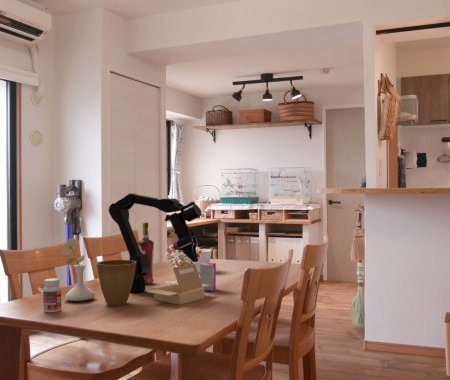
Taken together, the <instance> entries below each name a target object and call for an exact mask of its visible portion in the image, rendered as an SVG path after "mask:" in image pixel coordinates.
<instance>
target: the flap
mask: <svg viewBox="0 0 450 380" xmlns="http://www.w3.org/2000/svg"><path fill="white" fill-rule="evenodd" d="M172 270H173V273H174V275H175V276H174V277H175V279H176V281H177V285H179V288H180V291H181V292H182V291H186V290H190V289H194V288H198V287H202V283H201V280H200V273H198V271H197V269H196V266H195V264H191V263H189V264H186V265H181V266H177V267H173V268H172Z"/></svg>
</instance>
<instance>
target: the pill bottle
mask: <svg viewBox="0 0 450 380" xmlns="http://www.w3.org/2000/svg"><path fill="white" fill-rule="evenodd" d="M42 289H43V290H42V291H43V292H42V293H43V294H42V295H43V312H45V313H57V312H60V311H61V310H62V286H60V278H56V277H55V278H54V277H53V278H46V279H44V287H43V288H42Z"/></svg>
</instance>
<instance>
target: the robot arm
mask: <svg viewBox="0 0 450 380" xmlns="http://www.w3.org/2000/svg"><path fill="white" fill-rule="evenodd" d="M135 204H136V205H140V206H141V205H142V206H146V207H147V206H148V207H152V208H156V209H158V210H159V211H161V212H163V213H167V214H166V215H165V219H164V222H170V224H171V226H172V229H173V231H174V234H175V236H176V237H177V241H176V245H177V248H178V249H179V251H181V252H182V253H183V254H184V255H186V257H187V258H188V259H190V260H191V261H192V262H198V257H197V252H196V249H197V246H198V241H197V238H195V237H199V236H201V237H202V236H205V228H204V227H201V226H200V225H199V226H196V227H192V228H190V226H188V223H190V222H193V221H195V220H196V219H197V218H200V217H202V214H203V213H202V210H201V207H200V206H198V205H197V204H196V202H195V201H190V202H189V203H187V204H186V205H184V204H181V203H180V201H179V199H176V198H158V197H153V196H147V195H143V194H138V193H133V192H132V193H127V194H126V195H125V196H124V197H122V198H121V199H119V200H117V201H116V202H115V203H111V204H110V205H109V207H108V213H109V216H110V217H111V219H112V220H113V221H114V222H115V223H116V224H117V225H118V228H119V231H120V234H121V236H122V239H123V241H124V244H125V247H126V249H127V252H128V255H129V259H128V260H132V261H136V269H135V275H134V280H133V284H132V288H131V291H130V294H137V293H145V291H146V284H145V279H144V276H146V274H147V271H148V270H149V268H150V264H149V263H150V261H149V259H148V256H147V254H142V253H141V251H140V249H139V246H138V241H137V239H136V236H135V233H134V231H133V228H132V226H131V223H130V210H131V209H132V208H133V207H134V205H135ZM170 213H172V214H170ZM187 222H188V223H187ZM190 260H189V261H190Z"/></svg>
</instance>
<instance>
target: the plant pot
mask: <svg viewBox="0 0 450 380" xmlns="http://www.w3.org/2000/svg"><path fill="white" fill-rule="evenodd" d="M96 269H97V274H98V281H99V286H100V288H101V292H102V295H103V298H104V301H105V303H106V305H107V306H112V307H116V306H117V307H121V306H124V305H126V304H127V302H128V300H129V298H130V294H131V293H130V291H131V288H132V284H133V280H134V275H135V269H136V261H132V260H129V259H110V260H101V261H97V262H96Z"/></svg>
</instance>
